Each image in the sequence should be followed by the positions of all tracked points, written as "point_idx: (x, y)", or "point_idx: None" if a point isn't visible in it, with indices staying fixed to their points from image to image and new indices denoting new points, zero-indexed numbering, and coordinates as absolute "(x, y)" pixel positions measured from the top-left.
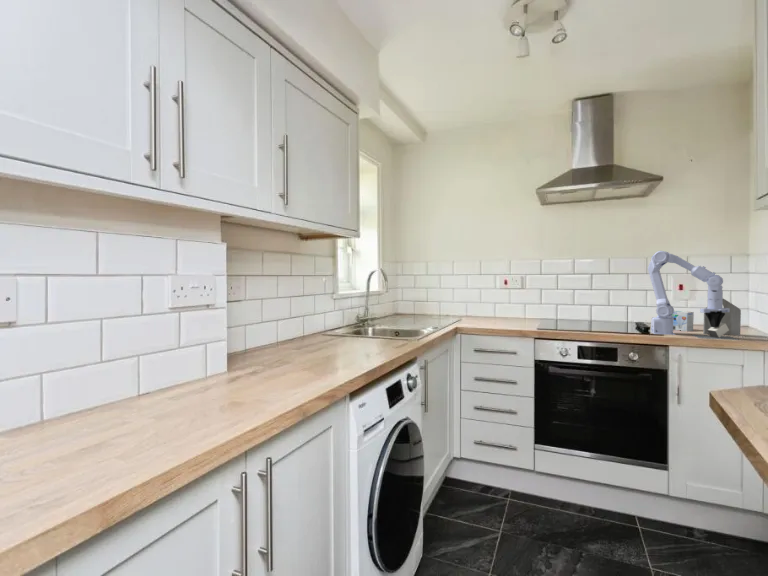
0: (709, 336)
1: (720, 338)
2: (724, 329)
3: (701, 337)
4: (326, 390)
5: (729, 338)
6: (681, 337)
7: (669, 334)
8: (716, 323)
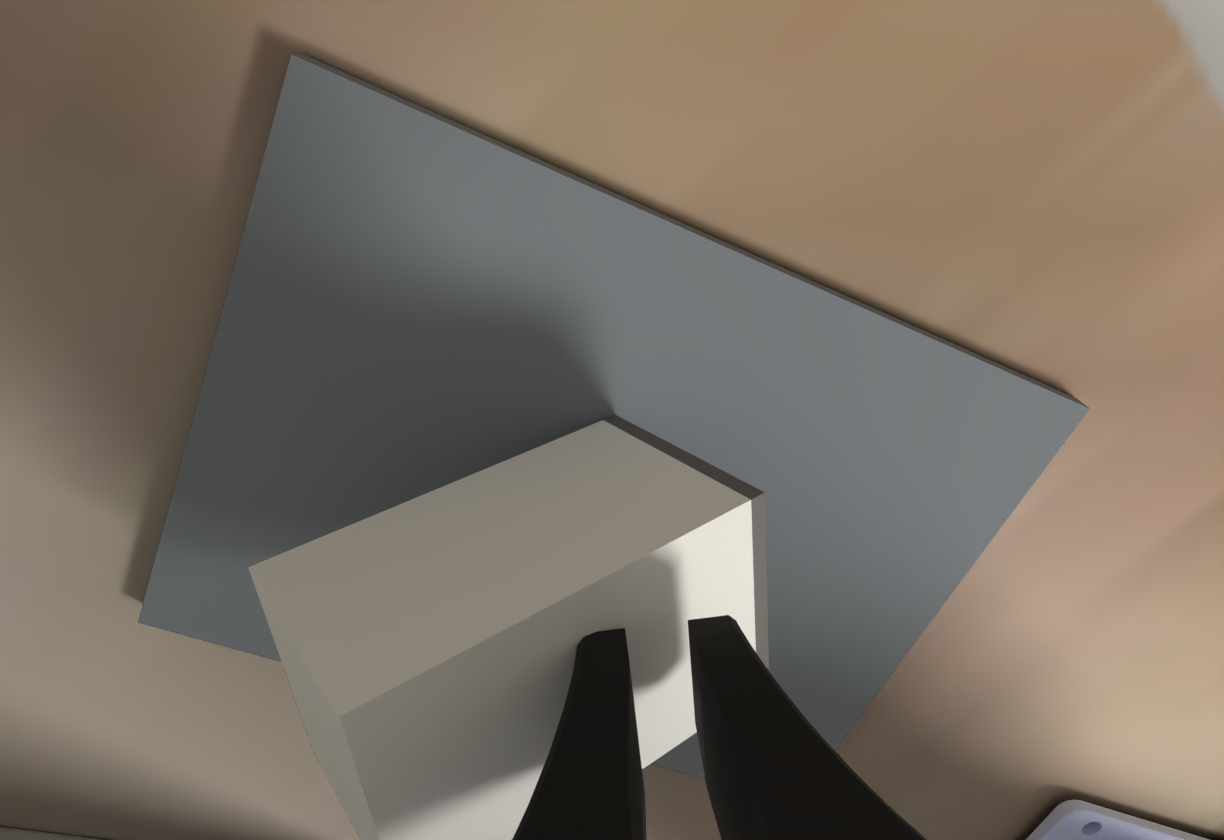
0: None
1: (632, 346)
2: (415, 563)
3: (941, 496)
4: None
5: (392, 342)
6: (1186, 616)
7: (1154, 828)
8: (729, 694)
